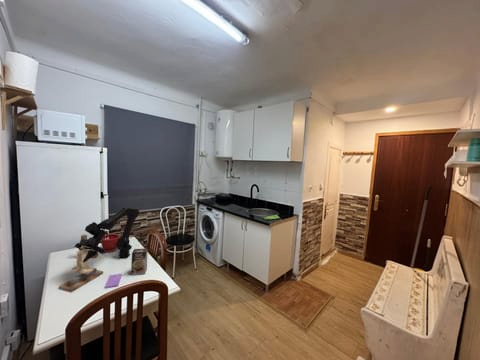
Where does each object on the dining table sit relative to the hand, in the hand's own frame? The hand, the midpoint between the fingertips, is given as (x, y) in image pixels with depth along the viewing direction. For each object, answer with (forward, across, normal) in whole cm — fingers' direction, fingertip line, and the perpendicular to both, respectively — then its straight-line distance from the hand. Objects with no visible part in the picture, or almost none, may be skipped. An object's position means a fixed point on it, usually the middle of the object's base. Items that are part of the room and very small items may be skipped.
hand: (80, 261), depth 119 cm
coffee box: (-5, +26, +24) cm, 35 cm away
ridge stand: (+8, 0, +10) cm, 13 cm away
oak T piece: (+4, 0, +6) cm, 7 cm away
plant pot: (-19, -19, +38) cm, 46 cm away
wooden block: (-8, -23, +27) cm, 36 cm away
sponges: (+5, +18, +14) cm, 24 cm away
